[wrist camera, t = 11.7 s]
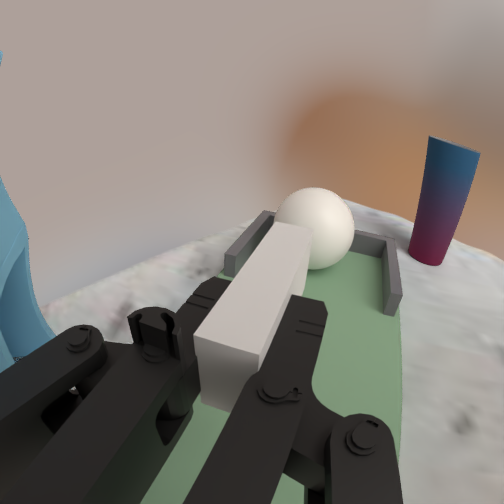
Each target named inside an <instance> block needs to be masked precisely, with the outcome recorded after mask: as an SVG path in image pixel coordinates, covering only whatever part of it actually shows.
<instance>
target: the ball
mask: <svg viewBox="0 0 504 504" xmlns="http://www.w3.org/2000/svg"><path fill="white" fill-rule="evenodd" d="M275 222H280V223H286V224H291V225H296V226H301V227H306V228H311V229H314V232H313V239H312V245H311V251H310V258H309V264H308V269H311V270H316V269H323V268H327V267H330V266H332V265H334V264H335V263H337V262H338V261H339V260H341V259H342V258H343V257H344V256H345V254H346V253H347V252H348V250H349V248H350V246H351V244H352V241H353V238H354V229H355V228H354V220H353V216H352V213H351V211H350V209H349V207H348V206H347V204H346V203H345V202H344V201H343V200H342V199H341V198H340V197H339V196H338V195H336V194H335V193H333V192H331V191H329V190H326V189H323V188H313V187H312V188H305V189H301V190H298V191H296V192H294V193H293V194H291V195H289V196H288V197H287V198H286V199H285V200H284V201H283V202H282V204H281V205H280V206H279V208H278V210H277V212H276V214H275V218H274V223H275ZM274 223H273V224H274Z"/></svg>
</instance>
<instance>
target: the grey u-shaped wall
mask: <svg viewBox="0 0 504 504" xmlns="http://www.w3.org/2000/svg"><path fill="white" fill-rule="evenodd" d="M275 214H276V213H275V212H270V211H265V210H264V211H263V212H262V213H261V214H260V215H259V216H258V217H257V218H256V219H255V220H254V222H253V223H252V224H251V225H250V226H249V227H248V228H247V229H246V230H245V232H244V233H243V234H242V235H241V236H240V237H239V238H238V239H237V240H236V242H235V243H234V244H233V245H232V246H231V247H230V248H229V249H228V250H227V252H226V253H225V260H224V276H228V277H232V278H235V277H236V275H237V274H238V273H239V271H240V270H241V268H242V267H243V266H244V264H245V263H246V262H247V260H248V259H249V257H250V256H251V255H252V253H253V252H254V251H255V249H256V248H257V246H258V245H259V244H260V242H261V241H262V239H263V238H264V237H265V235H266V234H267V233H268V231H269V230H270V228H271V227H272V226H273V223H274V218H275ZM348 251H351V252H355V253H360V254H364V255H368V256H372V257H377V258H381V266H382V289H383V315H388V316H392V317H394V316H395V313H396V311H397V308H398V306H399V303H400V301H401V298H402V296H403V295H402V287H401V279H400V272H399V265H398V259H397V252H396V246H395V240H394V239H393V238H388V237H384V236H380V235H376V234H372V233H367V232H363V231H359V230H354V238H353V241H352V244H351V246H350V248H349V250H348Z"/></svg>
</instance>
